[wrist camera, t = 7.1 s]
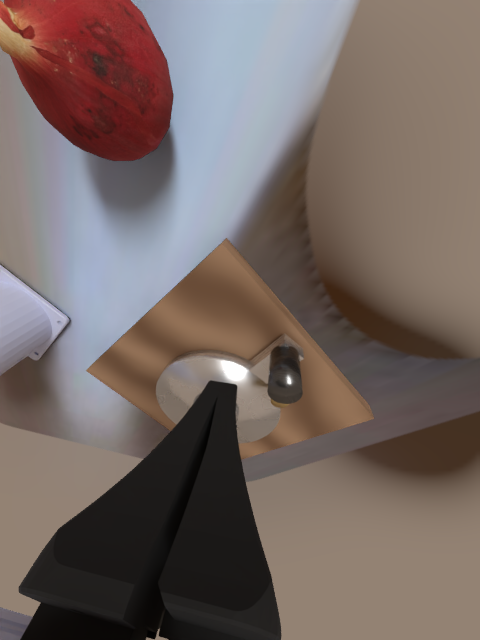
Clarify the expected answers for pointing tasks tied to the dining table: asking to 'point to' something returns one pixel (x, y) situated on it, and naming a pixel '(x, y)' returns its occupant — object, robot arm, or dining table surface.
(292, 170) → the dining table surface
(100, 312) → the dining table surface
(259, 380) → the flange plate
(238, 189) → the dining table surface
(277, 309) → the base board
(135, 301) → the dining table surface
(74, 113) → the red oval fruit
